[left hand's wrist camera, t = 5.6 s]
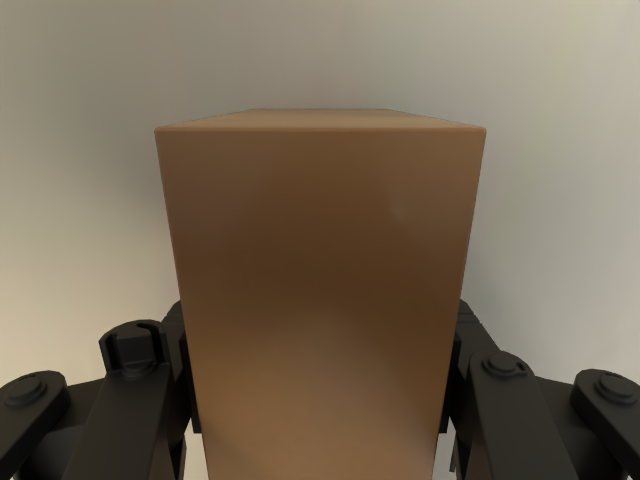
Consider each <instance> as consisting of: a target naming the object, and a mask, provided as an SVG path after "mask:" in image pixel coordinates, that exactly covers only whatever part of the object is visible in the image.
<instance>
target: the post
mask: <svg viewBox="0 0 640 480" xmlns="http://www.w3.org/2000/svg"><path fill="white" fill-rule="evenodd" d="M154 133H155V139H156V146H157V152H158V158H159V165H160V171H161V177H162V184H163V190H164V197H165V203H166V209H167V216H168V222H169V228H170V235H171V241H172V248H173V254H174V260H175V267H176V273H177V279H178V286H179V292H180V299H181V305H182V311H183V318H184V324H185V331H186V337H187V343H188V350H189V356H190V362H191V369H192V375H193V382H194V388H195V394H196V401H197V407H198V413H199V420H200V426H201V433H202V439H203V445H204V452H205V458H206V464H207V471H208V477H209V480H431V479H432V473H433V466H434V460H435V454H436V447H437V441H438V435H439V428H440V422H441V416H442V409H443V403H444V397H445V390H446V384H447V378H448V371H449V365H450V359H451V352H452V346H453V340H454V333H455V327H456V321H457V314H458V308H459V302H460V295H461V289H462V283H463V276H464V270H465V264H466V257H467V251H468V245H469V238H470V232H471V226H472V219H473V213H474V207H475V200H476V194H477V188H478V181H479V175H480V169H481V162H482V156H483V150H484V143H485V137H486V129H485V128H483V127H479V126H474V125H468V124H463V123H458V122H452V121H447V120H441V119H436V118H431V117H425V116H420V115H414V114H409V113H404V112H398V111H393V110H387V109H253V110H247V111H242V112H237V113H231V114H226V115H220V116H215V117H210V118H204V119H199V120H193V121H188V122H183V123H177V124H172V125H166V126H161V127H157V128H155V131H154Z"/></svg>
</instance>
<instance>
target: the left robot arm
mask: <svg viewBox="0 0 640 480" xmlns="http://www.w3.org/2000/svg"><path fill="white" fill-rule="evenodd" d="M98 342H99V345H100V349H101V353H102V357H103V361H104V365H105V368H106V372H107V373H106V376H105V378H102V379H98V380H94V381H90V382H85V383H80V384H76V385H71V386H67V383H66V380H65V377H64V376H63V375H62V374H61V373H59V372H56V371H50V370H48V371H40V372H34V373H30V374H28V375H24V376H21V377H19V378H17V379H15V380H13V381H11V382H9V383H7V384H6V385H4V386H3V387H1V388H0V480H10V479H11V477H13V479H14V480H183V477H184V468H185V459H186V449H187V448H186V441H185V435H184V433H185V430H186V428H187V425H188V423H189V420H190V418H191V420H192V426H193V432H194V433H201V426H200V420H199V413H198V407H197V401H196V394H195V388H194V382H193V375H192V369H191V362H190V356H189V350H188V343H187V337H186V331H185V324H184V318H183V311H182V305H181V300H179V301H178V302H176V303H175V304H174V305H173V306H172V308H171V309H170V311H169V312H168V313H167V316H165V318H164V319H163V320H162V322H161V323H160V322H159V321H155V320H136V321H131V322H127V323H124V324H122V325H119V326H117V327H114V328H113V329H111V330H110V331H108V332H107V333H105V334H104V335H103V336H102V338H101V339H100V340H99V341H98ZM449 416H450V418H451V420H452V423H453V425H454V428H455V430H456V435H455V441H454V446H453V452H452V457H451V463H450V470H449V471H450V472H454V471H455V467H456V476H457V480H627V478H628V475H629V476H630V477H631V478H632V479H633V480H640V386H639V385H638V384H636V383H635V382H633V381H631V380H629V379H627V378H625V377H623V376H621V375H619V374H616V373H612V372H609V371H605V370H598V369H588V370H582V371H581V372H579V373H578V374H577V375H576V378H575V381H574V384H573V385H572V384H567V383H563V382H558V381H553V380H549V379H544V378H541V377H537V376H535V375H534V373H533V371H532V370H531V368H530V367H529V366H528V364H526V363H525V362H524V361H522V360H521V359H520V358H518V357H516V356H514V355H512V354H510V353H508V352H505V351H501V350H499V348H498V347H497V345H496V344H495V342H494V341H493V340H492V338H491V337H490V335H489V334H488V333H487V331H486V330H485V328H484V327H483V326H482V324H480V321H479V320H478V319H477V317H476V316H475V315H474V313H473V311H472V310H471V309H470V307H469V306H468V304H467V303H466V302H464V301H463V300H461V299H460V302H459V308H458V314H457V321H456V327H455V333H454V340H453V346H452V352H451V359H450V365H449V371H448V378H447V384H446V390H445V397H444V403H443V409H442V416H441V422H440V428H439V433H447V428H448V422H449Z"/></svg>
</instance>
